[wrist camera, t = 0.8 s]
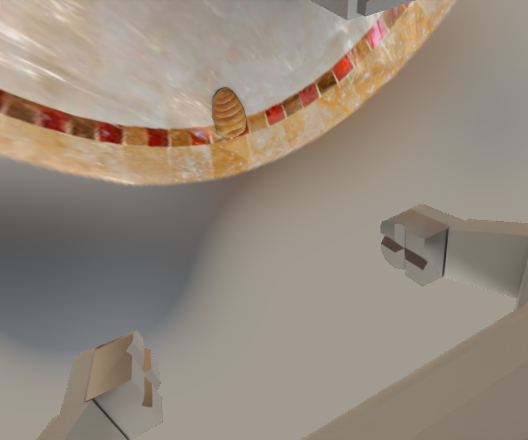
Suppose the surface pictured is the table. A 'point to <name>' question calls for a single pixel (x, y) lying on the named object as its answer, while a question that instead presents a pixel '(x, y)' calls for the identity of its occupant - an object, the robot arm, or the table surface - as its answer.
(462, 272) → the robot arm
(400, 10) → the table surface
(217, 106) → the pastry
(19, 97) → the table surface
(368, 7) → the tall grey bin
